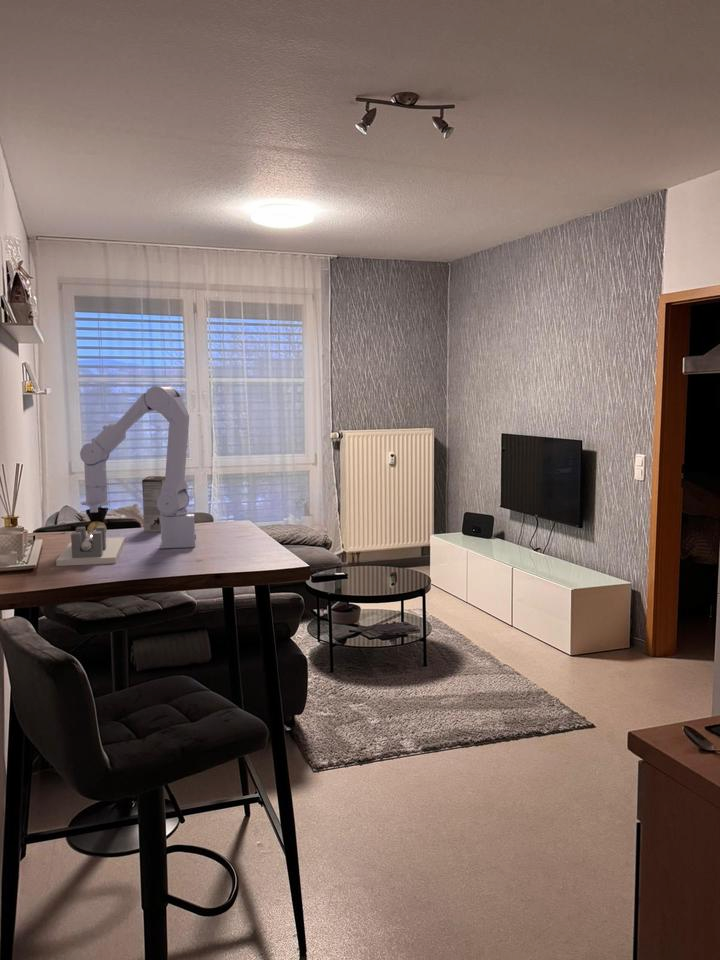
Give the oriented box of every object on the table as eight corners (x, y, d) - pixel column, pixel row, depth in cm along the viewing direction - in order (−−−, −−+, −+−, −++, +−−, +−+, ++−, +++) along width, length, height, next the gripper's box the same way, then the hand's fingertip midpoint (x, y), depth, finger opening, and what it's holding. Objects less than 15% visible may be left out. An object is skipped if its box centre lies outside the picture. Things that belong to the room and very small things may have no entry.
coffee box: (150, 526, 246) (148, 476, 244) (170, 526, 246) (168, 475, 244) (143, 531, 237) (141, 479, 235) (164, 531, 237) (162, 479, 235)
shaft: (106, 538, 216) (106, 520, 216) (97, 555, 194) (96, 535, 193) (88, 538, 215) (87, 521, 215) (75, 556, 193) (75, 536, 192)
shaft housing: (124, 542, 220) (123, 516, 219) (115, 563, 194) (114, 533, 193) (72, 544, 217) (71, 518, 216) (56, 566, 191) (55, 536, 190)
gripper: (84, 483, 222) (86, 530, 224) (77, 489, 208) (79, 539, 209) (110, 482, 223) (112, 529, 225) (104, 489, 209) (106, 538, 211)
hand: (98, 534), depth 217 cm, fingers closed
